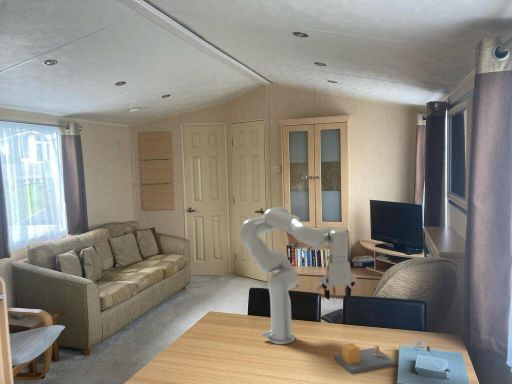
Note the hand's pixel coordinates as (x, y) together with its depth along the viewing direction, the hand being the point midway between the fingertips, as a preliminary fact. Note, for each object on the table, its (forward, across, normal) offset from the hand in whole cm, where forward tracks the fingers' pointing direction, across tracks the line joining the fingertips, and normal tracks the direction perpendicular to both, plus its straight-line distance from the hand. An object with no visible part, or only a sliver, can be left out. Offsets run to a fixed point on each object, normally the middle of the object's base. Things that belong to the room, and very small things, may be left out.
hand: (337, 297), depth 176 cm
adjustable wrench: (+23, +34, -16) cm, 44 cm away
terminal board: (+23, +7, -12) cm, 27 cm away
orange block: (+22, 0, -12) cm, 25 cm away
